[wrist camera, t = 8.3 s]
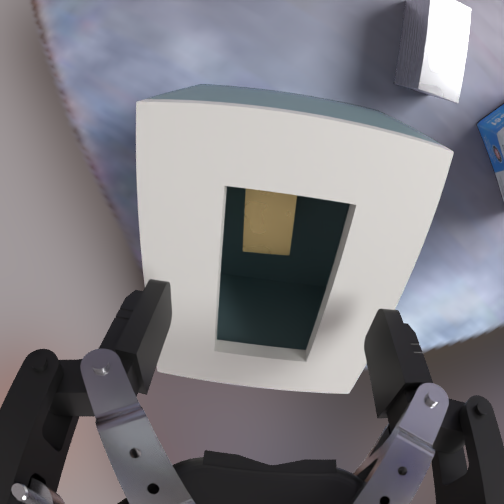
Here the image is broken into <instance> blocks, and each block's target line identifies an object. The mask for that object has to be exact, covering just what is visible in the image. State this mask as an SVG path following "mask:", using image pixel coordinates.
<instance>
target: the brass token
mask: <svg viewBox="0 0 504 504" xmlns="http://www.w3.org/2000/svg"><path fill="white" fill-rule="evenodd" d="M296 201H297V195H292V194H285V193H277V192H270V191H263V190H255V189H247V188H246V192H245V212H244V233H243V252H253V253H265V254H277V255H289V254H290V247H291V239H292V232H293V224H294V217H295V209H296Z"/></svg>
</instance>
